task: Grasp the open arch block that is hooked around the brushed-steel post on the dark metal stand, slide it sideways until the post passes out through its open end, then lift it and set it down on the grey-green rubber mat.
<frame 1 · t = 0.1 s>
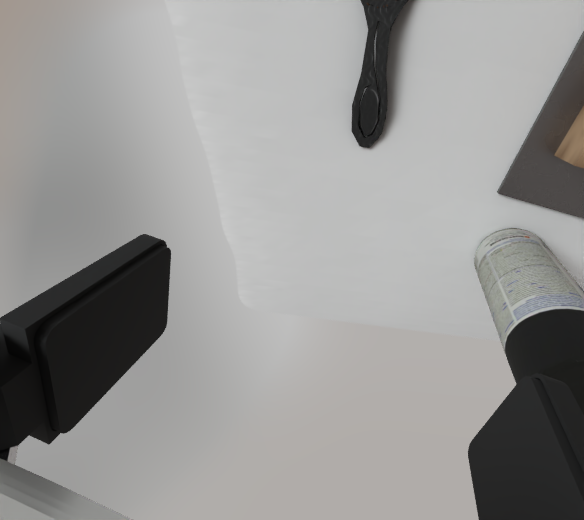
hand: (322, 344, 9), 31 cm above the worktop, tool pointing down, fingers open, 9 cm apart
spray can: (506, 255, 38), on the worktop
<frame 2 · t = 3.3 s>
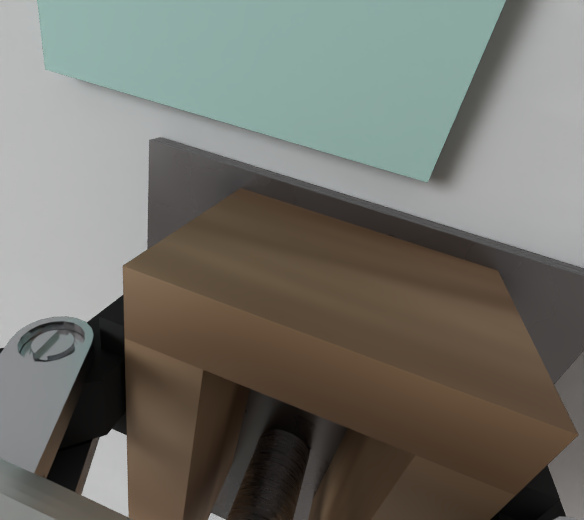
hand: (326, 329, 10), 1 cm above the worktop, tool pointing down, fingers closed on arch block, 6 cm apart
arch block: (305, 387, 12), resting on stand, touching gripper
stand: (287, 436, 14), on the worktop
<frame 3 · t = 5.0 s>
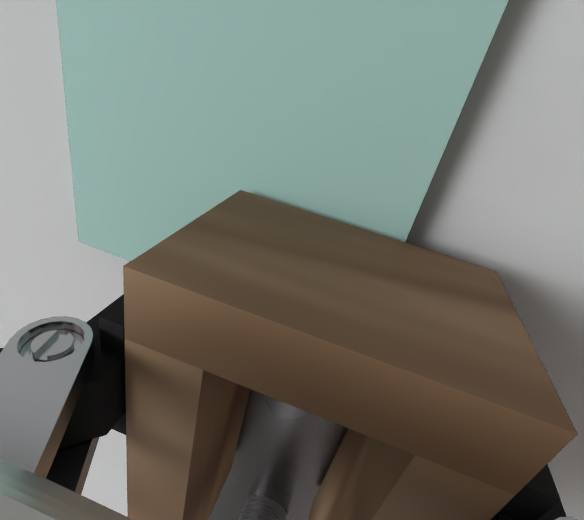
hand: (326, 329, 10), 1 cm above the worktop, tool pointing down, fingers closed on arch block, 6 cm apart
arch block: (305, 389, 12), point 1 cm above the worktop, touching gripper
mat: (240, 128, 9), on the worktop
stand: (269, 498, 17), on the worktop
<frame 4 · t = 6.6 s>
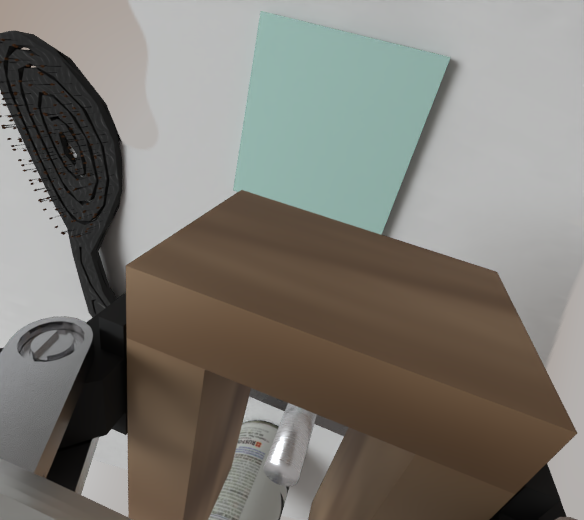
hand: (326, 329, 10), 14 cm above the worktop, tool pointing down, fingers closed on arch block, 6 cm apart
arch block: (305, 388, 12), point 13 cm above the worktop, touching gripper
mat: (327, 133, 21), on the worktop
stand: (320, 354, 28), on the worktop
hairbrush: (98, 214, 29), on the worktop
spray can: (266, 442, 35), on the worktop
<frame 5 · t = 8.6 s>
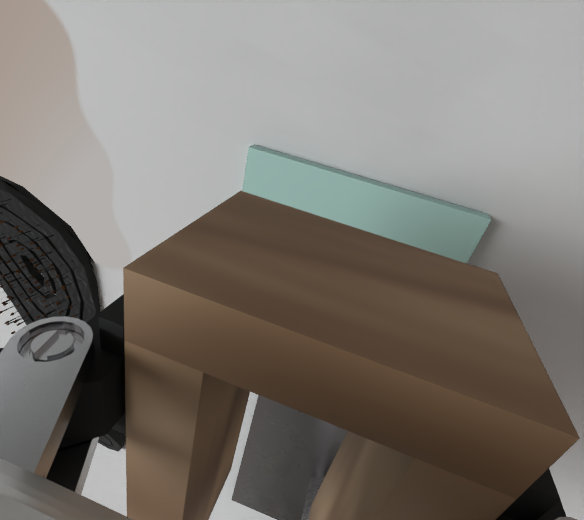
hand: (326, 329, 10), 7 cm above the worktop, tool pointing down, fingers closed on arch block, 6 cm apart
arch block: (305, 390, 12), point 7 cm above the worktop, touching gripper
mat: (333, 275, 17), on the worktop
stand: (325, 478, 25), on the worktop
hairbrush: (76, 327, 26), on the worktop
when the fingers open (3 cm above the worktop, at t = 10.2 s): arch block drops 2 cm, resting on mat.
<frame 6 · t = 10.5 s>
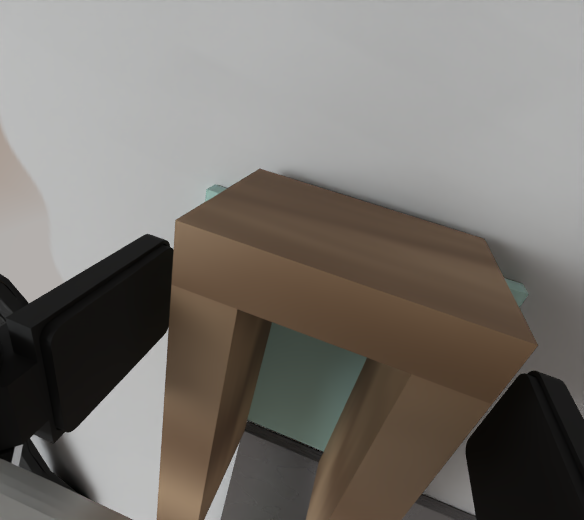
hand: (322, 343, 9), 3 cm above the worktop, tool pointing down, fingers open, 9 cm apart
arch block: (314, 352, 13), point 1 cm above the worktop, touching mat
mat: (318, 345, 14), on the worktop
hairbrush: (29, 383, 22), on the worktop
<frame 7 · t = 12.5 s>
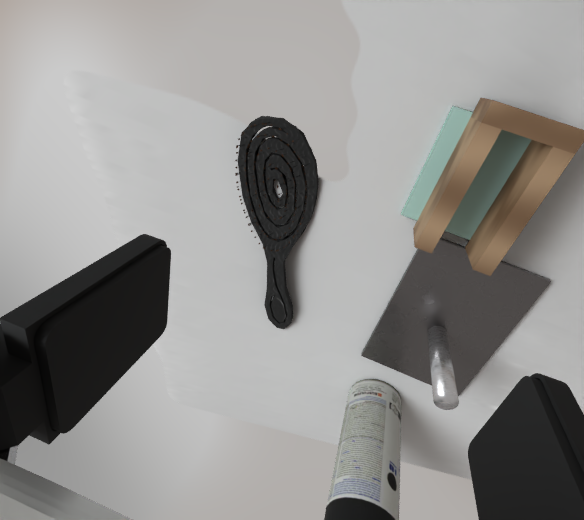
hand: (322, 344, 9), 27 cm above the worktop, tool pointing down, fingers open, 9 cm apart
arch block: (480, 182, 31), point 1 cm above the worktop, touching mat
mat: (479, 182, 31), on the worktop
stand: (436, 330, 39), on the worktop
hairbrush: (281, 233, 40), on the worktop
spray can: (373, 396, 46), on the worktop
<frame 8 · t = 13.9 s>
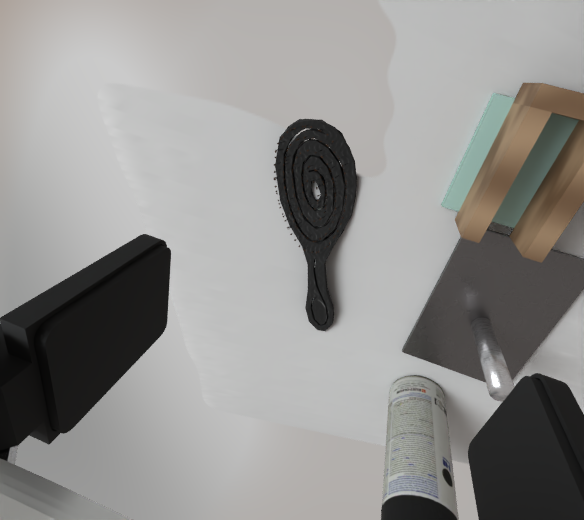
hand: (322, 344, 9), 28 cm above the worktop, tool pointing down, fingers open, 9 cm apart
arch block: (524, 168, 30), point 1 cm above the worktop, touching mat
mat: (522, 169, 31), on the worktop
stand: (480, 322, 38), on the worktop
hairbrush: (319, 235, 40), on the worktop
spray can: (415, 392, 45), on the worktop
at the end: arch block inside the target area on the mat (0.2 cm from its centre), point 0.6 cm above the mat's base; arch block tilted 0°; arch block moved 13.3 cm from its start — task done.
